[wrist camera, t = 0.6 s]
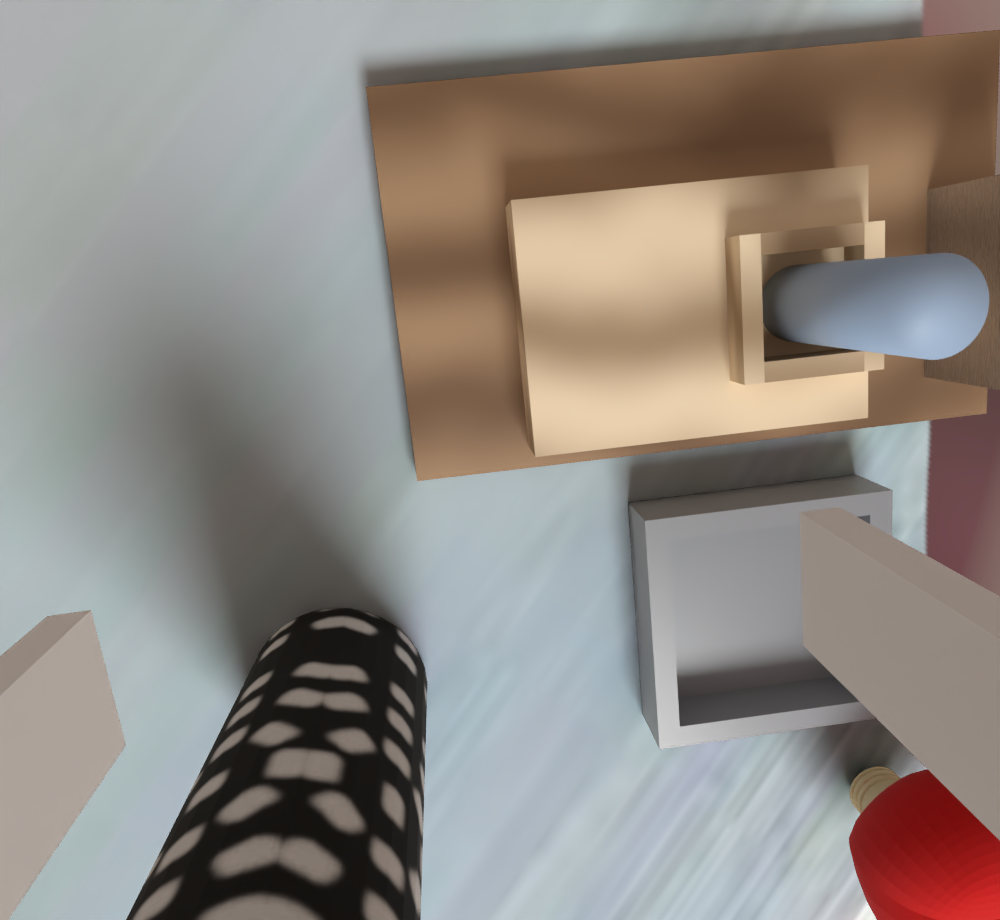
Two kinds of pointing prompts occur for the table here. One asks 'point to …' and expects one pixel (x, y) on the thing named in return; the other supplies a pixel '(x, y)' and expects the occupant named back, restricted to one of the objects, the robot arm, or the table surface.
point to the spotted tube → (307, 786)
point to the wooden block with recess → (681, 308)
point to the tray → (735, 610)
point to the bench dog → (992, 248)
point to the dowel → (880, 304)
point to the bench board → (641, 163)
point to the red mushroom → (922, 850)
